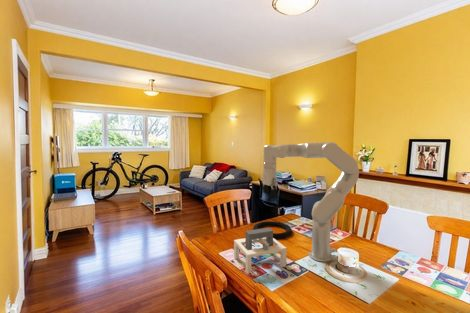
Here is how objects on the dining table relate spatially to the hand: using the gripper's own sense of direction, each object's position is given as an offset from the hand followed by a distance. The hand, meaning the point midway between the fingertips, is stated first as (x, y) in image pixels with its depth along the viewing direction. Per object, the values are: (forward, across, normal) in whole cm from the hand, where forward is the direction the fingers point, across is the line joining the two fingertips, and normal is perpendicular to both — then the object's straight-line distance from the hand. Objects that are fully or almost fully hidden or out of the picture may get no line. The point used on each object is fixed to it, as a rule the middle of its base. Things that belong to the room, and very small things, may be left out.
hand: (269, 194), depth 148 cm
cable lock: (+34, -22, +14) cm, 43 cm away
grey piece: (+28, +13, -13) cm, 34 cm away
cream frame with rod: (+33, +13, -13) cm, 38 cm away
